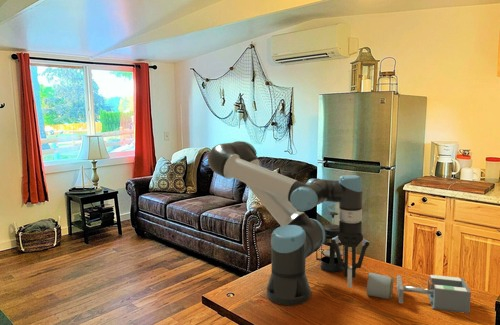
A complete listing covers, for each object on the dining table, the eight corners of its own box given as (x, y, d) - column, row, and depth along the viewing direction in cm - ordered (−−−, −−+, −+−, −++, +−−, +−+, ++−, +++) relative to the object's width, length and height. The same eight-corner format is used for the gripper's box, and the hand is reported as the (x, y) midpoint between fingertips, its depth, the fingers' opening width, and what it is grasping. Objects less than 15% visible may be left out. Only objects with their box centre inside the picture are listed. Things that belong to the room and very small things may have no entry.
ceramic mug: (391, 303, 124) (392, 281, 123) (366, 298, 127) (366, 277, 126) (393, 289, 133) (394, 269, 132) (369, 285, 136) (370, 265, 136)
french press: (345, 264, 155) (346, 210, 152) (345, 273, 146) (346, 216, 143) (317, 261, 158) (317, 208, 155) (315, 271, 149) (315, 215, 146)
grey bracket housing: (432, 309, 120) (433, 287, 119) (427, 294, 129) (428, 274, 128) (469, 313, 116) (471, 291, 116) (461, 298, 126) (463, 277, 125)
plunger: (399, 302, 122) (399, 281, 121) (396, 287, 132) (397, 268, 131) (441, 308, 118) (442, 286, 117) (435, 292, 129) (436, 271, 128)
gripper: (330, 222, 127) (329, 288, 130) (370, 224, 123) (369, 292, 126) (332, 216, 134) (331, 279, 137) (370, 218, 130) (369, 283, 133)
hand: (349, 285), depth 132 cm, fingers closed
